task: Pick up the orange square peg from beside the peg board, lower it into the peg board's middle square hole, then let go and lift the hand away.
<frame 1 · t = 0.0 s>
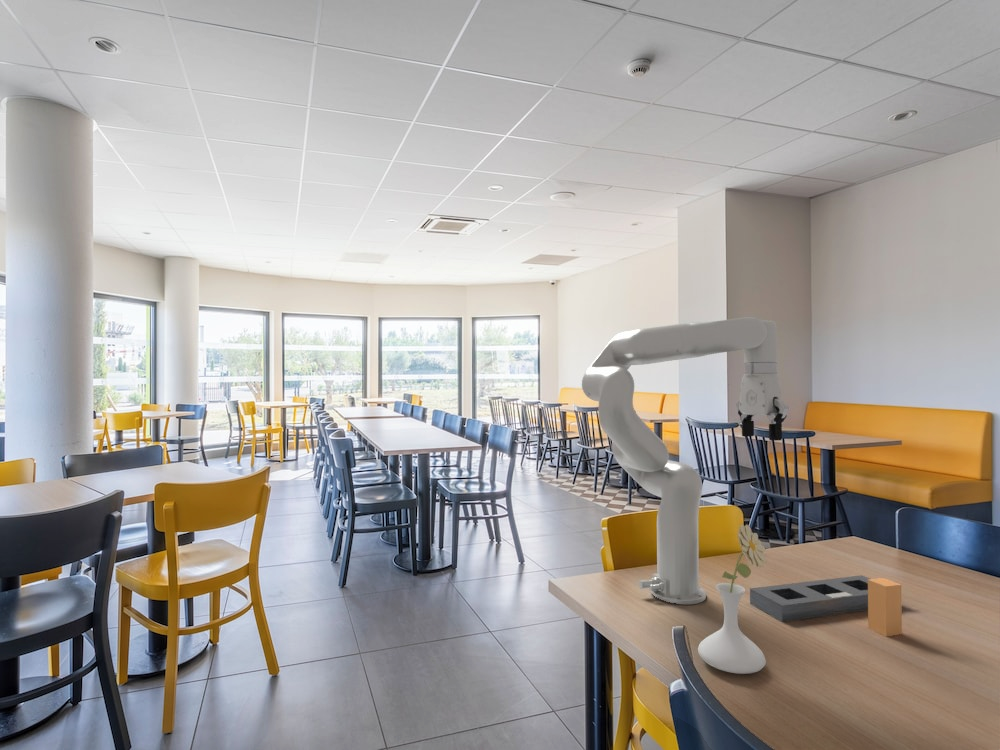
hand: (761, 438, 140), 37 cm above the table, tool pointing down, fingers open, 9 cm apart
square peg: (884, 631, 114), on the table
peg board: (824, 604, 127), on the table
flower in vase: (734, 664, 101), on the table
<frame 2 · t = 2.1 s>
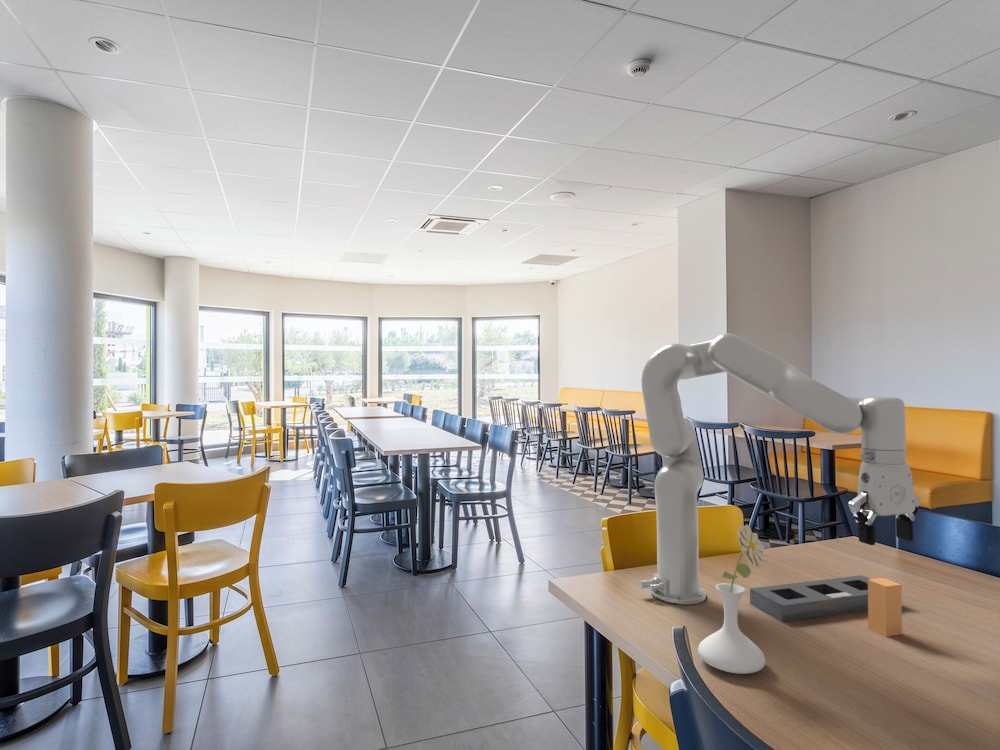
hand: (885, 541, 114), 18 cm above the table, tool pointing down, fingers open, 9 cm apart
nothing on the table moved.
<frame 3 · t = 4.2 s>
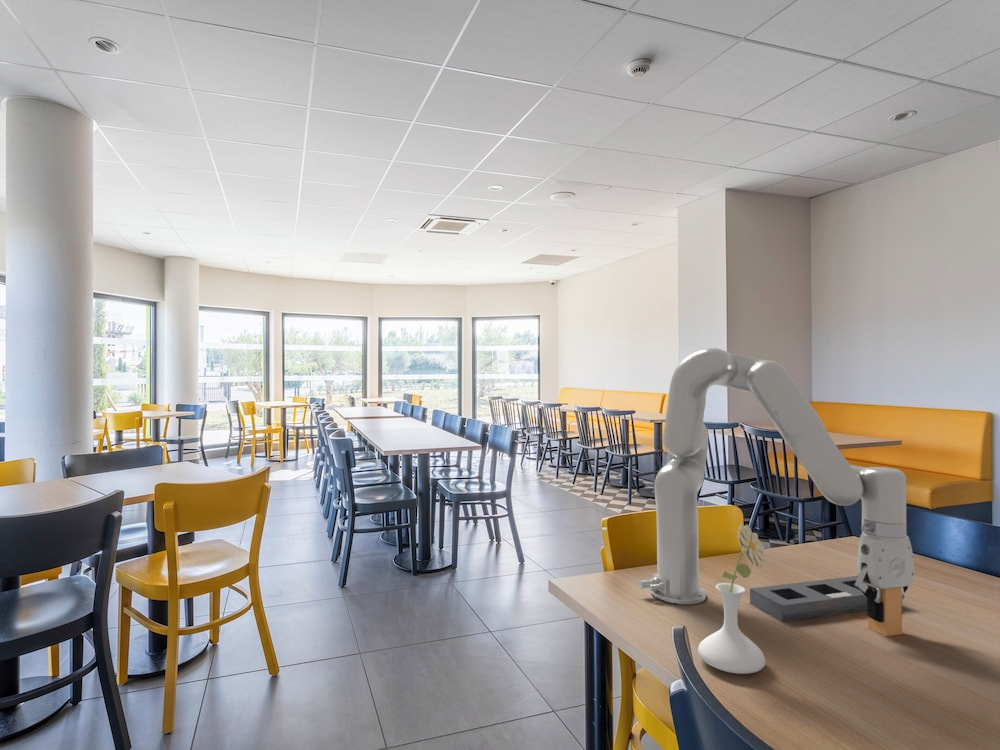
hand: (884, 617, 114), 3 cm above the table, tool pointing down, fingers closed on square peg, 4 cm apart
square peg: (884, 631, 114), on the table, touching gripper
everything else where it was.
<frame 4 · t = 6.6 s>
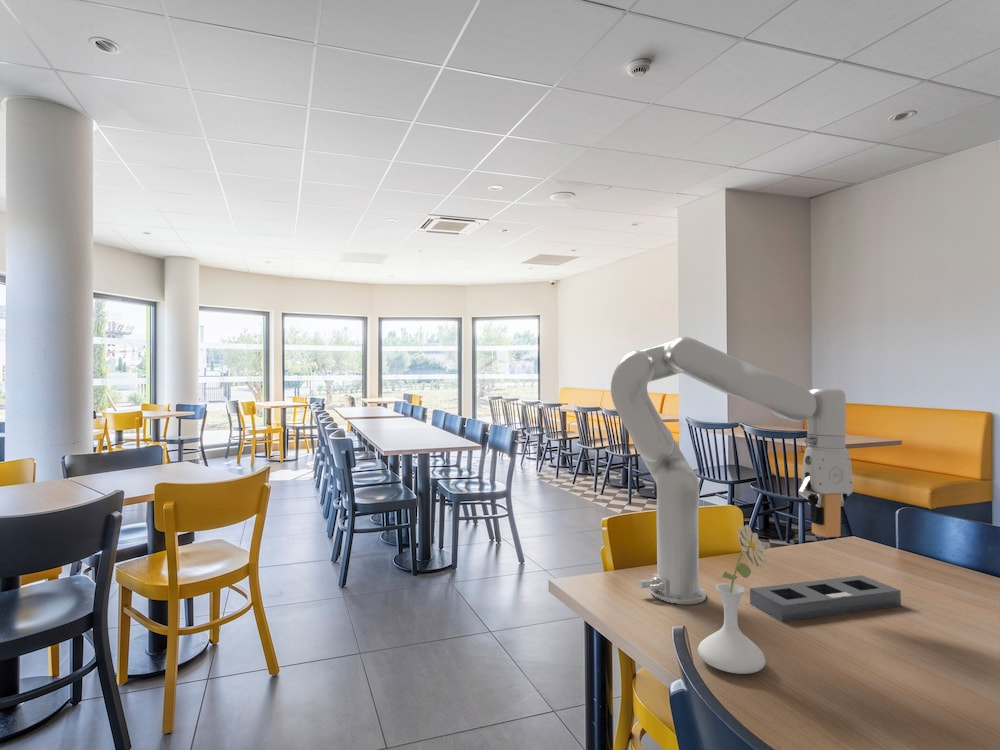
hand: (825, 522, 127), 19 cm above the table, tool pointing down, fingers closed on square peg, 4 cm apart
square peg: (825, 534, 127), point 16 cm above the table, touching gripper
everything else where it was.
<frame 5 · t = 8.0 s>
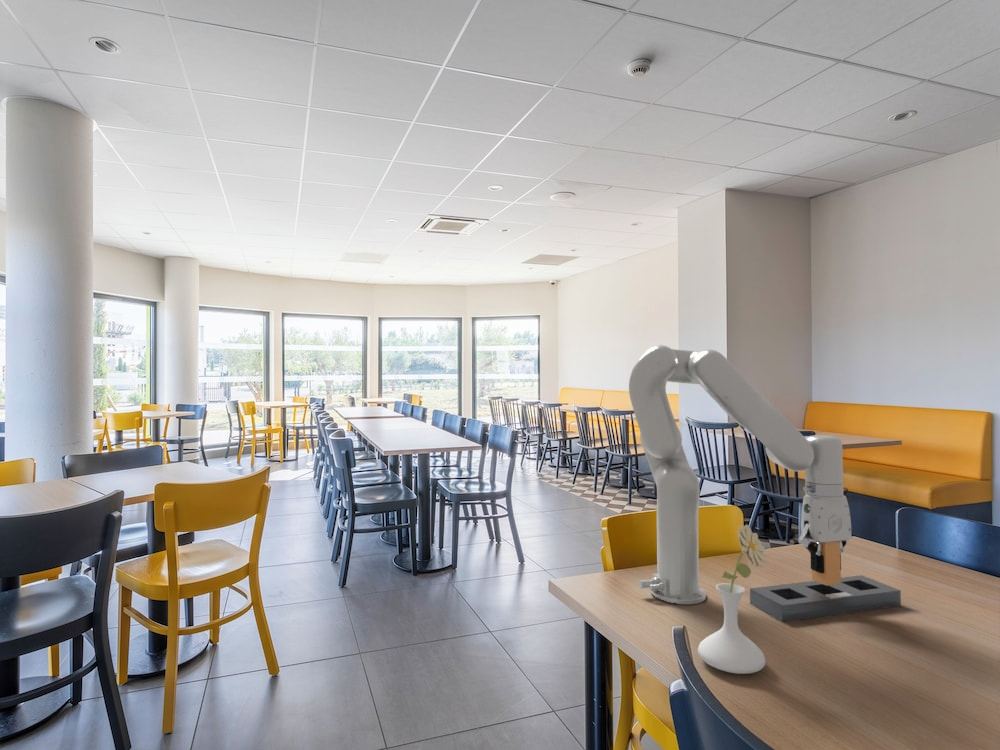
hand: (825, 569, 127), 8 cm above the table, tool pointing down, fingers closed on square peg, 4 cm apart
square peg: (826, 581, 127), point 5 cm above the table, touching gripper
everything else where it was.
when the fingers open (4 cm above the table, at t = 9.1 s): square peg drops 2 cm, resting in peg board.
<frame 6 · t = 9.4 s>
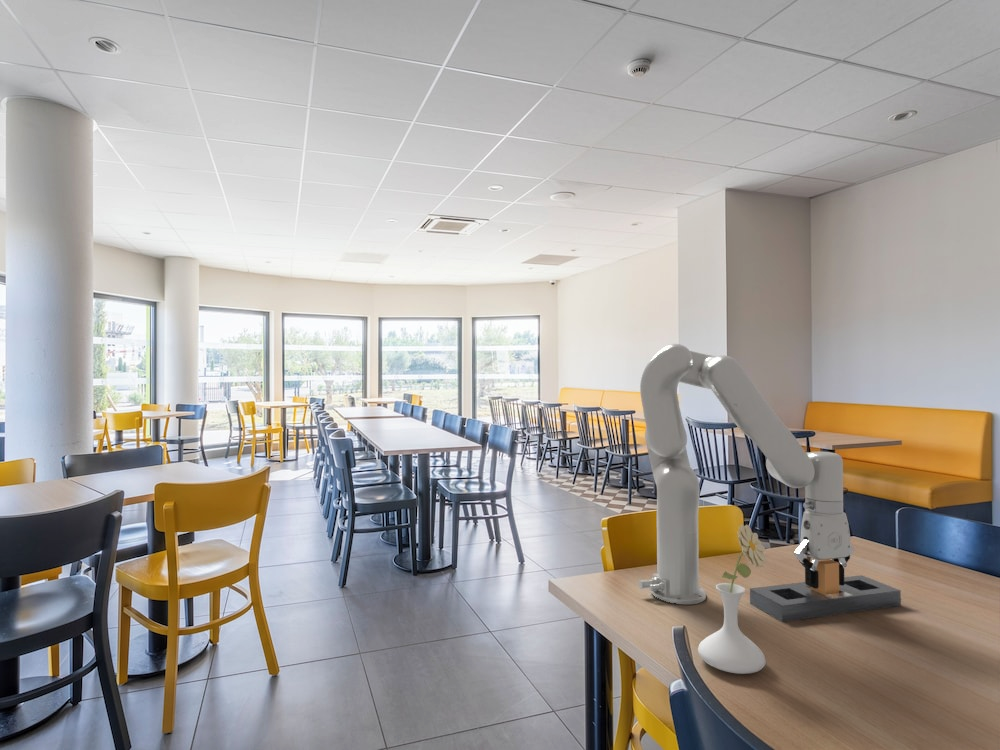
hand: (824, 584, 127), 5 cm above the table, tool pointing down, fingers open, 6 cm apart
square peg: (825, 604, 127), resting in peg board
everything else where it was.
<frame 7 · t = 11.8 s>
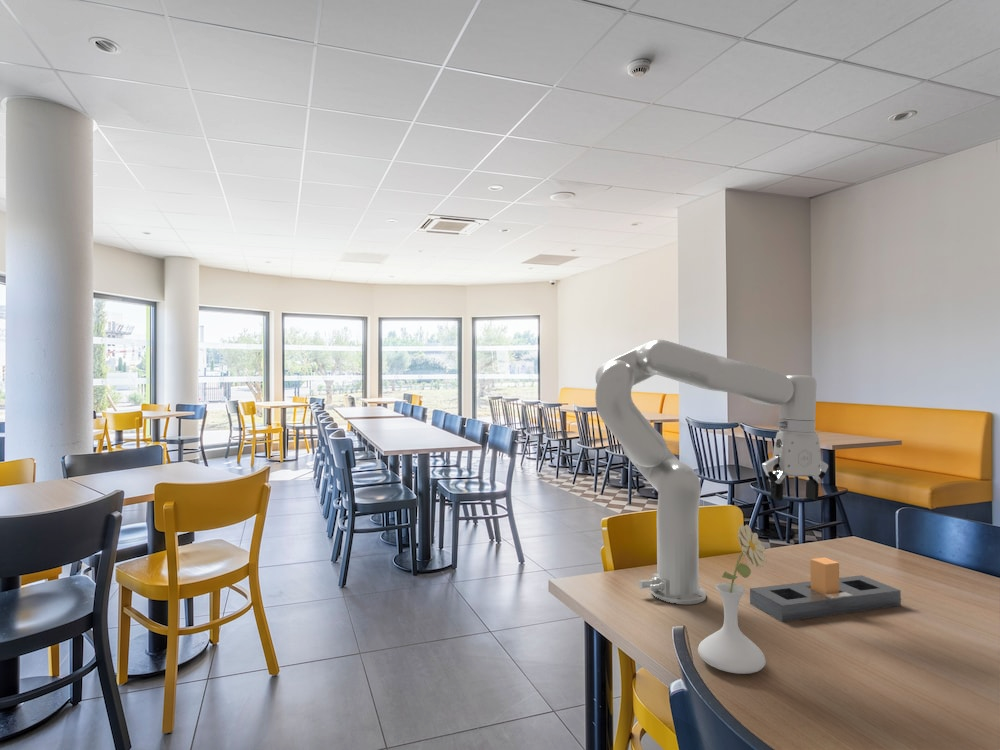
hand: (794, 499, 132), 23 cm above the table, tool pointing down, fingers open, 9 cm apart
nothing on the table moved.
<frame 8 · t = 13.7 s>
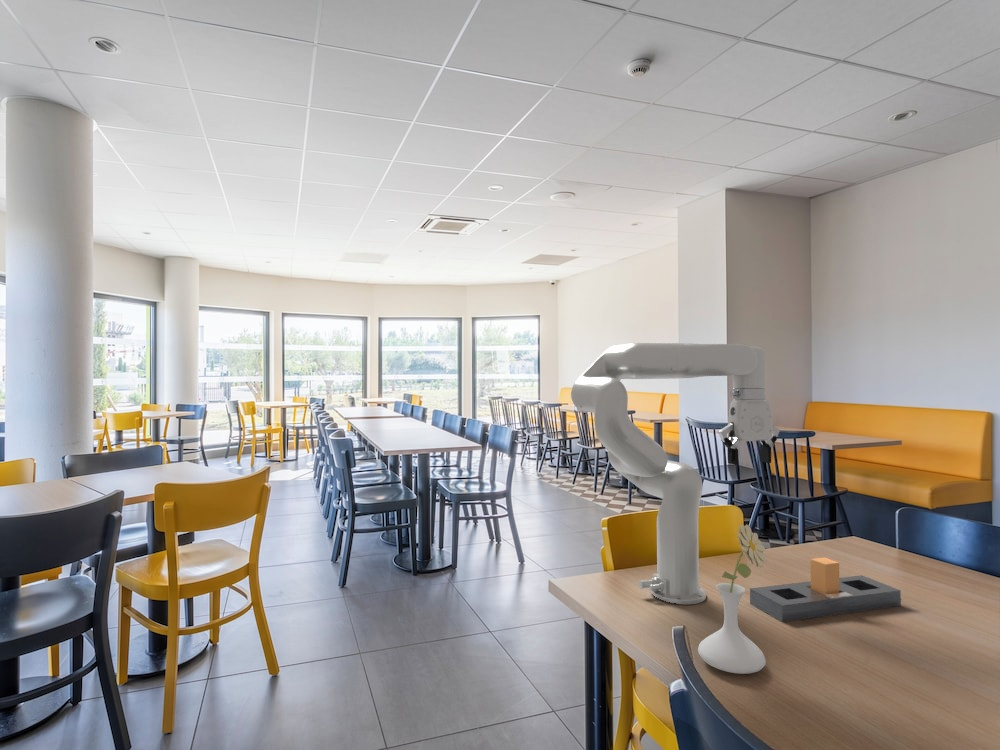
hand: (749, 463, 141), 30 cm above the table, tool pointing down, fingers open, 9 cm apart
nothing on the table moved.
at the end: square peg 0.1 cm off-centre on the peg board, point 0.0 cm above the peg board's base; square peg tilted 0°; the gripper is holding nothing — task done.
